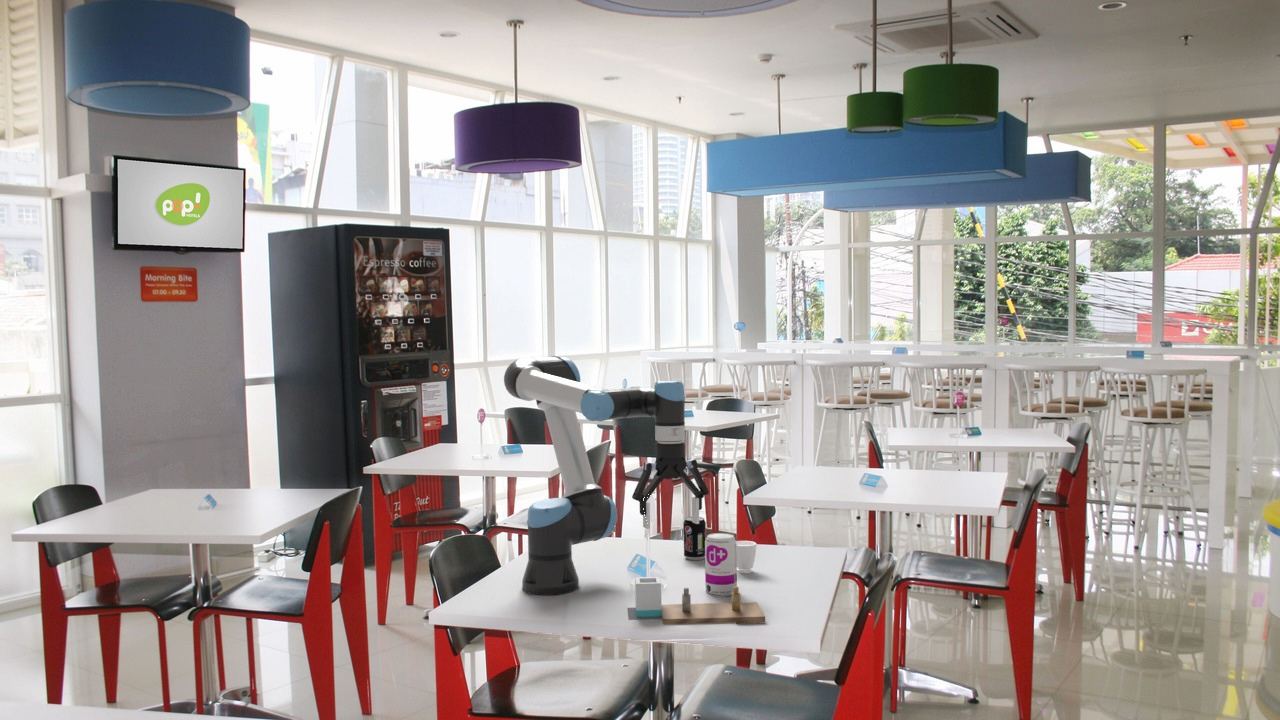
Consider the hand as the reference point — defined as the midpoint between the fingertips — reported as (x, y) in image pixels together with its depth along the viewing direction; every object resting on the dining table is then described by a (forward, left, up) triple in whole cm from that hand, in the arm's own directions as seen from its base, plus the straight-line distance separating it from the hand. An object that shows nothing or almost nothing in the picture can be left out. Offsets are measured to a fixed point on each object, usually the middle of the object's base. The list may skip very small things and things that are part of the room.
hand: (671, 525), depth 249 cm
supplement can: (+13, +7, -20) cm, 25 cm away
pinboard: (+8, -14, -19) cm, 25 cm away
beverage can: (+10, +46, -20) cm, 51 cm away
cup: (+21, +29, -20) cm, 41 cm away
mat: (-7, -11, -20) cm, 23 cm away
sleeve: (-7, -11, -19) cm, 23 cm away
